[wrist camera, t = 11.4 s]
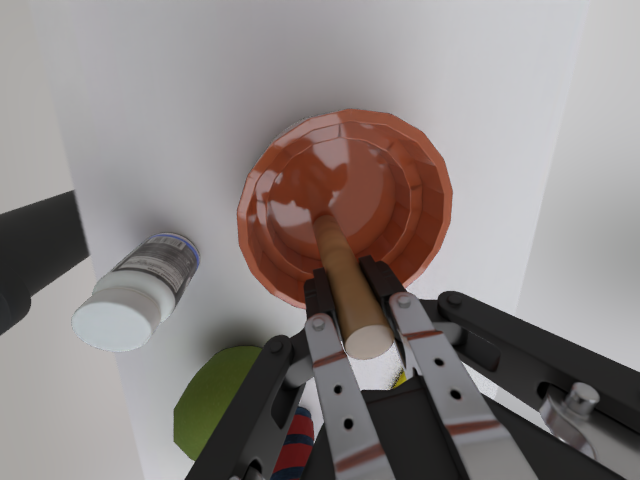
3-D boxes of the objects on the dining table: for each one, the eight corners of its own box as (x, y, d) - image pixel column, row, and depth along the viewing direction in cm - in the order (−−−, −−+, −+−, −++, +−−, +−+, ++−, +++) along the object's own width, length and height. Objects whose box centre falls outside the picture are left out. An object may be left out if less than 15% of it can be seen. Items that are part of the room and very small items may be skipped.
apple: (253, 308, 25) (237, 411, 16) (305, 357, 30) (314, 457, 21) (175, 352, 26) (120, 469, 17) (236, 392, 31) (218, 500, 22)
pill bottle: (173, 284, 22) (118, 367, 15) (130, 249, 20) (39, 326, 13) (212, 259, 21) (175, 333, 14) (172, 221, 19) (103, 283, 12)
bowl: (278, 284, 24) (276, 331, 18) (222, 137, 17) (194, 146, 12) (410, 250, 24) (446, 287, 19) (407, 93, 17) (461, 81, 12)
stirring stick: (316, 240, 21) (348, 365, 10) (310, 218, 20) (339, 332, 9) (339, 234, 21) (396, 352, 10) (335, 212, 20) (393, 318, 9)
